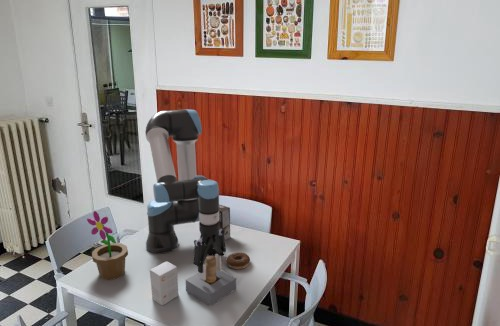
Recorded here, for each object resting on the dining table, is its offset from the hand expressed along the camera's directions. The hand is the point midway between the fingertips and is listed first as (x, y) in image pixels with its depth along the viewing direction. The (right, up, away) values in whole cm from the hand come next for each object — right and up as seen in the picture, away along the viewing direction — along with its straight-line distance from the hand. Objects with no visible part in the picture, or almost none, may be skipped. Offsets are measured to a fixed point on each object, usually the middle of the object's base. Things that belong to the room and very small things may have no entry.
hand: (210, 274), depth 150 cm
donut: (+10, -2, +20) cm, 23 cm away
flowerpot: (-43, -3, +13) cm, 45 cm away
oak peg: (0, -7, +2) cm, 7 cm away
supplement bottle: (-2, +2, +30) cm, 30 cm away
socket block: (0, -7, +2) cm, 7 cm away
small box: (-17, -8, -2) cm, 19 cm away
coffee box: (0, +6, +44) cm, 45 cm away
